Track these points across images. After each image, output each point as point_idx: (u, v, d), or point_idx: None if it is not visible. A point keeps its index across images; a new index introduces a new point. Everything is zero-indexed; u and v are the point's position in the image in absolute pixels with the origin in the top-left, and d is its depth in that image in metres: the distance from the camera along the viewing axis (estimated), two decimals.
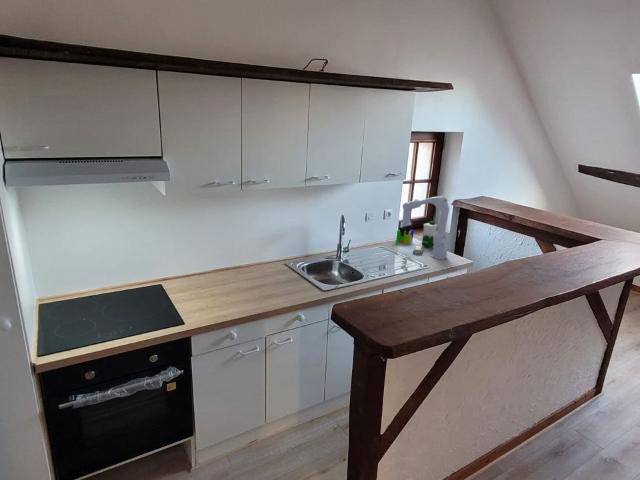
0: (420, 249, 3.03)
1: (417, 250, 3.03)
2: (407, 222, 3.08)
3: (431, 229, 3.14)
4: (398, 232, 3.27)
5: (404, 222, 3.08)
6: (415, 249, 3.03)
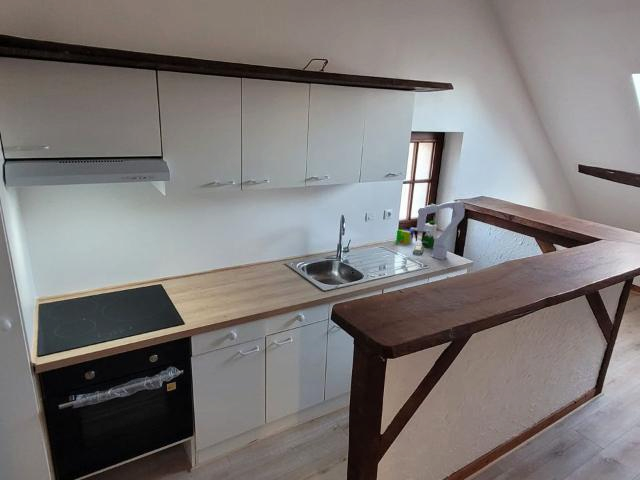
0: (420, 249, 3.03)
1: (417, 250, 3.03)
2: (417, 227, 2.98)
3: (431, 229, 3.14)
4: (398, 232, 3.27)
5: None
6: (415, 249, 3.03)
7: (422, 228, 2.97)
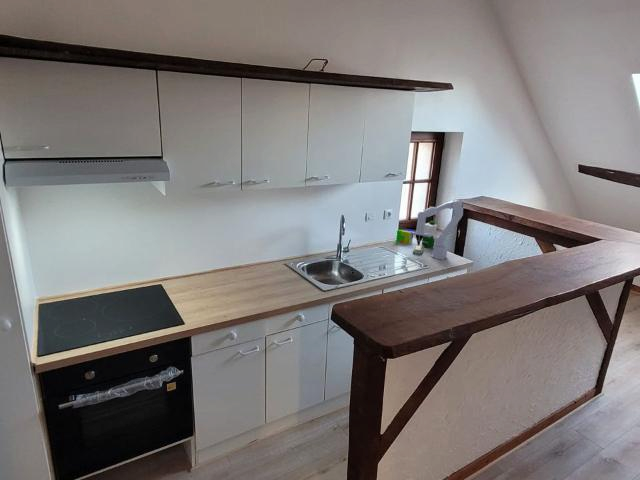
0: (420, 249, 3.03)
1: (417, 250, 3.03)
2: (417, 231, 2.99)
3: (431, 229, 3.14)
4: (398, 232, 3.27)
5: (416, 230, 3.01)
6: (415, 249, 3.03)
7: (421, 232, 2.98)
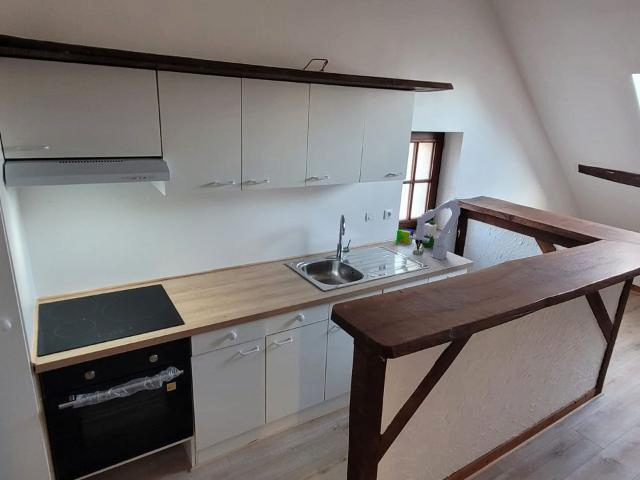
0: (420, 250, 3.03)
1: None
2: (416, 235, 3.00)
3: (431, 229, 3.14)
4: (398, 232, 3.27)
5: None
6: (415, 250, 3.03)
7: (421, 237, 2.99)
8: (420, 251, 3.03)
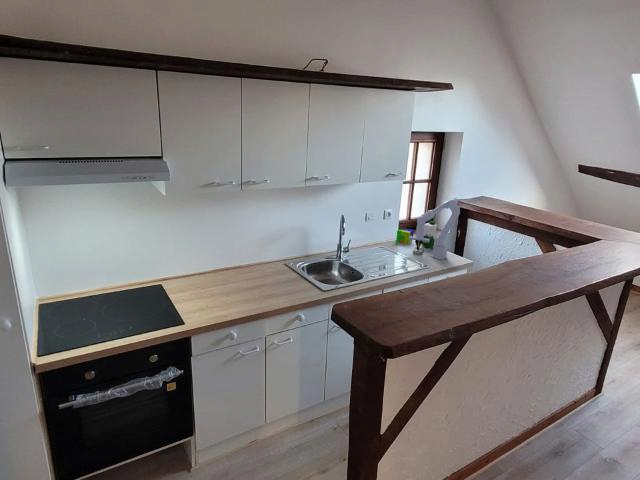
0: (420, 250, 3.03)
1: None
2: (416, 236, 3.00)
3: (431, 229, 3.14)
4: (398, 232, 3.27)
5: None
6: (415, 250, 3.03)
7: (421, 237, 2.99)
8: None
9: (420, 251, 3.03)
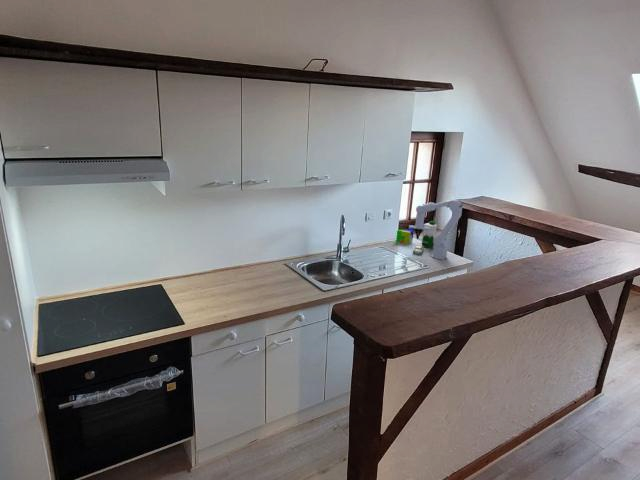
0: (420, 250, 3.03)
1: None
2: (416, 225, 3.02)
3: (431, 229, 3.14)
4: (398, 232, 3.27)
5: (415, 224, 3.04)
6: (415, 250, 3.03)
7: (421, 226, 3.01)
8: None
9: (420, 251, 3.03)
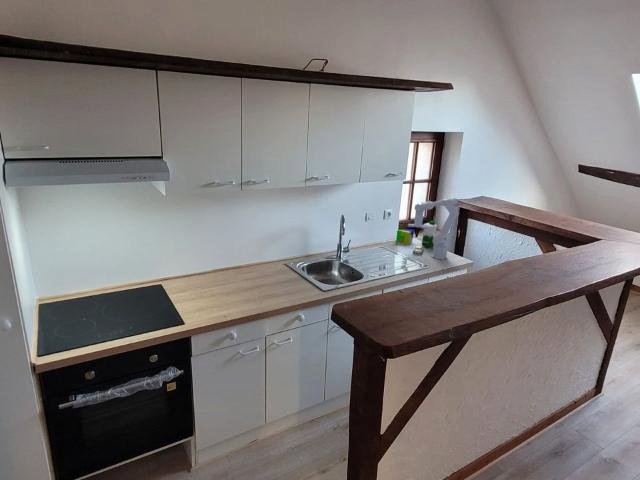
0: (420, 250, 3.03)
1: None
2: (415, 223, 3.05)
3: (431, 229, 3.14)
4: (398, 232, 3.27)
5: (414, 222, 3.07)
6: (415, 250, 3.03)
7: (419, 224, 3.04)
8: None
9: (420, 251, 3.03)
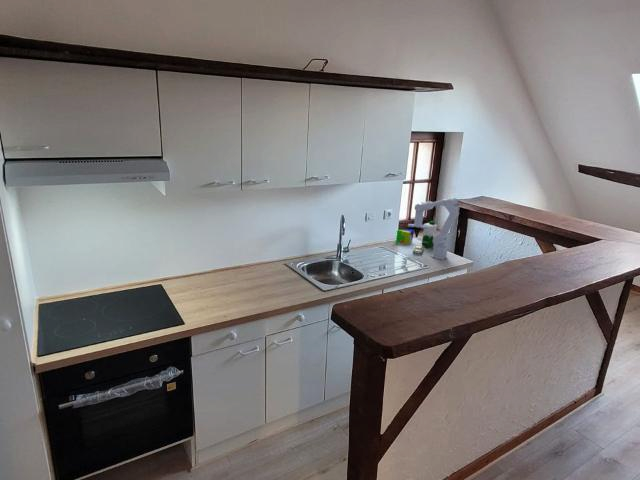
0: (420, 250, 3.03)
1: None
2: (415, 223, 3.05)
3: (431, 229, 3.14)
4: (398, 232, 3.27)
5: (414, 222, 3.07)
6: (415, 250, 3.03)
7: (419, 224, 3.04)
8: None
9: (420, 251, 3.03)
